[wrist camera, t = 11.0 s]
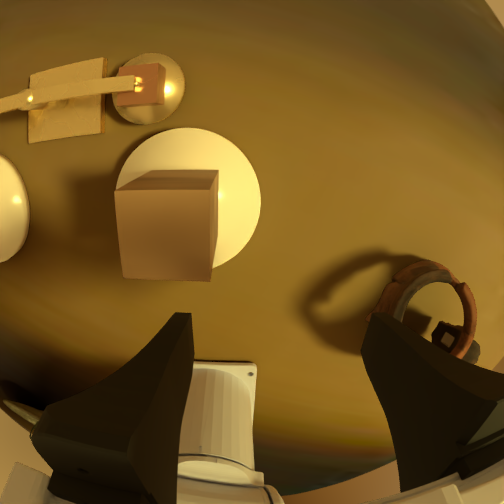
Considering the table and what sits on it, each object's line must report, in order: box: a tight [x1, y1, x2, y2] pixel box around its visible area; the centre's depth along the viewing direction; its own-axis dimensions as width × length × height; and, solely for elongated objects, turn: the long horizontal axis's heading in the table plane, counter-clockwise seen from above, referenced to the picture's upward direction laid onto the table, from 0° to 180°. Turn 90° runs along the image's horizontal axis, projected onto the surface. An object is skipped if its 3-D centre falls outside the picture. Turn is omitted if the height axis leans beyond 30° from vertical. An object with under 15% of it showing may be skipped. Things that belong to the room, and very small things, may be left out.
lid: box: [3, 400, 44, 441], centre depth 25 cm, size 11×10×5 cm
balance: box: [0, 53, 186, 143], centre depth 13 cm, size 5×17×6 cm, turn 87°
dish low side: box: [116, 128, 261, 268], centre depth 19 cm, size 9×9×1 cm
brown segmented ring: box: [365, 260, 480, 364], centre depth 21 cm, size 12×10×8 cm
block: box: [114, 170, 219, 282], centre depth 15 cm, size 4×4×6 cm
